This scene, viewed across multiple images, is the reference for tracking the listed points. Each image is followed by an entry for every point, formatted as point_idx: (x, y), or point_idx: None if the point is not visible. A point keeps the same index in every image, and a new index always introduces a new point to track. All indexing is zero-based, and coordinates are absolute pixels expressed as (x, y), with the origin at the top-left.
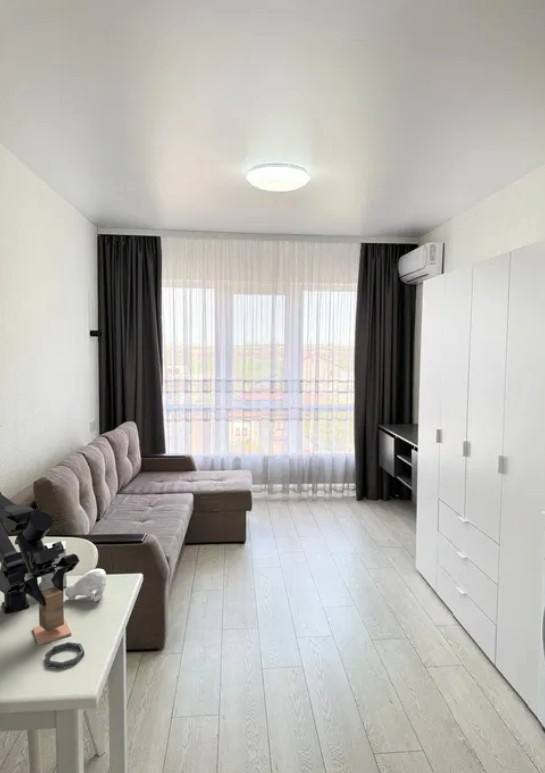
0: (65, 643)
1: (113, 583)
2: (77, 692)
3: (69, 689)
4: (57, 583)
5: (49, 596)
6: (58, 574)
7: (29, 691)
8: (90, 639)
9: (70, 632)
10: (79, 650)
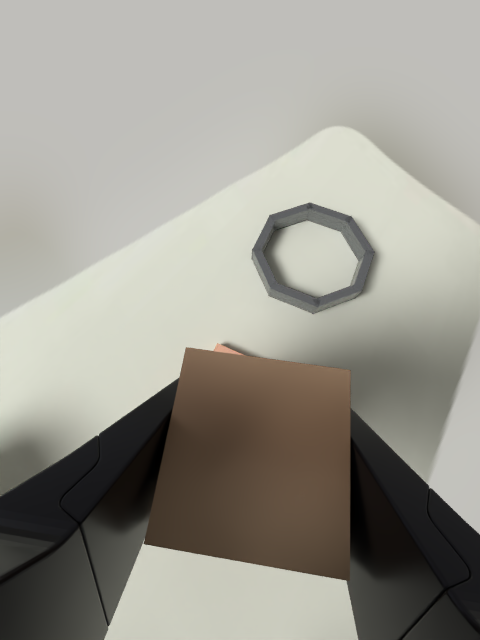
0: (281, 289)
1: None
2: (365, 139)
3: (372, 157)
4: (121, 513)
5: (317, 376)
6: (8, 568)
7: (448, 218)
8: (202, 271)
9: (218, 347)
10: (264, 248)
